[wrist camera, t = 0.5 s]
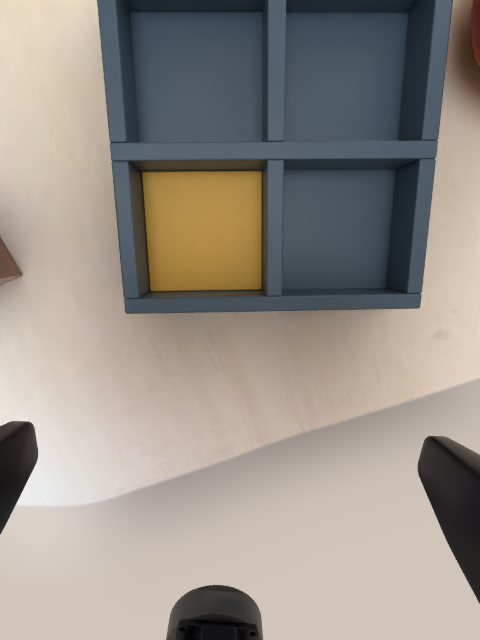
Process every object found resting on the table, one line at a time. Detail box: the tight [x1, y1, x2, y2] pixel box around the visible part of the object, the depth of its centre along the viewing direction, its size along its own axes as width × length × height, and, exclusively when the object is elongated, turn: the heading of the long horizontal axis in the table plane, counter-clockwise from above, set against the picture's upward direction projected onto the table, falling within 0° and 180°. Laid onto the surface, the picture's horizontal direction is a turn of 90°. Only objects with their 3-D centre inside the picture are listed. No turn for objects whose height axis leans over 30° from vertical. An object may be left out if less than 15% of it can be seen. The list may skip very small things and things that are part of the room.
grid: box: [97, 0, 453, 314], centre depth 18 cm, size 15×15×3 cm
